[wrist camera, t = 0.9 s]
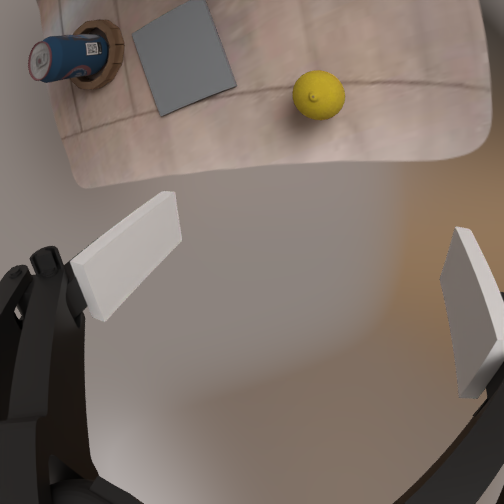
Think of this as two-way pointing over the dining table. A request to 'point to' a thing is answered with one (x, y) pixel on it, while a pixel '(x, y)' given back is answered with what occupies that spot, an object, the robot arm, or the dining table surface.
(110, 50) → the holder ring
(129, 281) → the robot arm
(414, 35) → the dining table surface
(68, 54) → the soda can
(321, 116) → the lemon
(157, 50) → the mat
